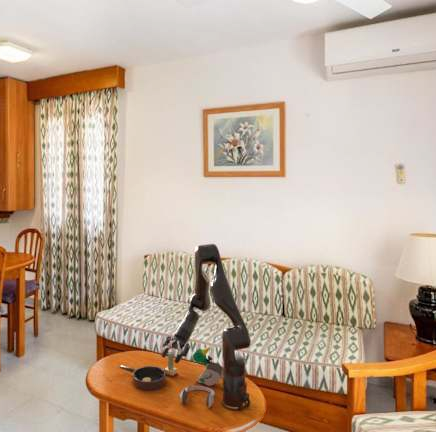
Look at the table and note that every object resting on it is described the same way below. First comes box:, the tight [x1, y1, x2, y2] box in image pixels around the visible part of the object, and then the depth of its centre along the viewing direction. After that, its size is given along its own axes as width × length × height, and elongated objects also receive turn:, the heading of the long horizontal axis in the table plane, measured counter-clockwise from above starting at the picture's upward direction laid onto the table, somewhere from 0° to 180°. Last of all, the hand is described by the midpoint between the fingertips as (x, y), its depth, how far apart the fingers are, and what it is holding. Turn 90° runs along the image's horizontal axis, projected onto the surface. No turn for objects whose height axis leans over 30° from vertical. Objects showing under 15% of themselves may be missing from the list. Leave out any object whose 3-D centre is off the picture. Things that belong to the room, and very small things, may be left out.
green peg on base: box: [163, 351, 178, 378], centre depth 189 cm, size 5×4×11 cm
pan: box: [132, 365, 167, 392], centre depth 181 cm, size 15×15×4 cm
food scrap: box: [142, 377, 151, 382], centre depth 182 cm, size 4×4×1 cm
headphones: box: [169, 385, 216, 409], centre depth 167 cm, size 17×6×20 cm
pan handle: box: [119, 364, 136, 374], centre depth 188 cm, size 11×2×2 cm, turn 58°
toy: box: [192, 346, 223, 389], centre depth 181 cm, size 6×17×20 cm
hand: (169, 359), depth 188 cm, fingers open, 8 cm apart
